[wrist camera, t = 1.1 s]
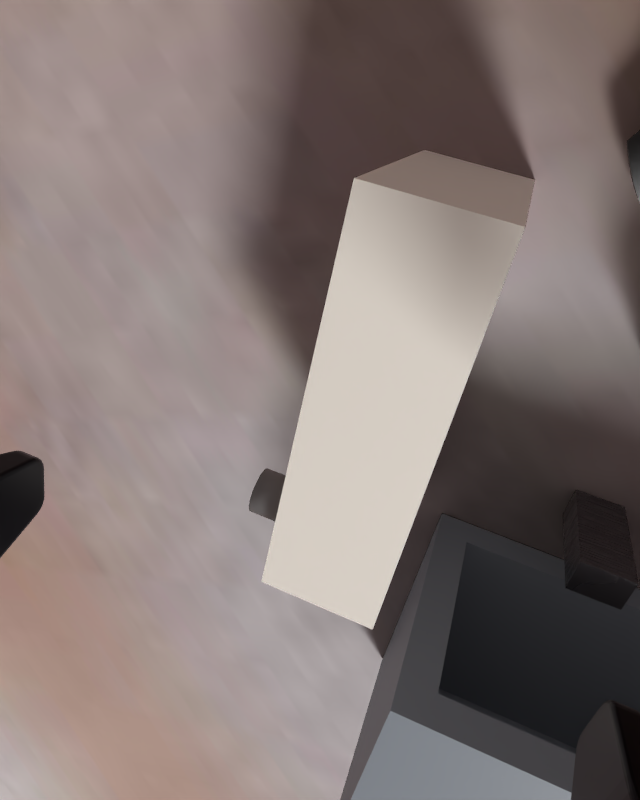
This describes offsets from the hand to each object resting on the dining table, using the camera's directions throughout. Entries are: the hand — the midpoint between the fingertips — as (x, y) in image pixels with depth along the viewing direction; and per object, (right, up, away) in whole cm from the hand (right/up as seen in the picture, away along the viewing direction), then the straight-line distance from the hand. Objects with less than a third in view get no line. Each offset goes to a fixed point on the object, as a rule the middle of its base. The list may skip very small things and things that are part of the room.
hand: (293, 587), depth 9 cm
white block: (+4, +5, +10) cm, 11 cm away
